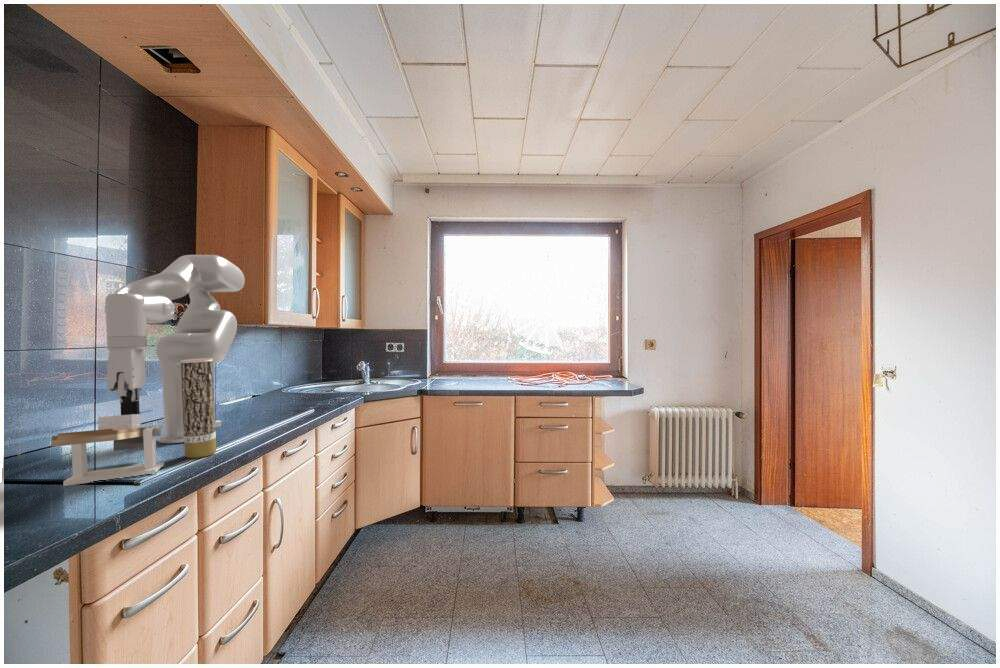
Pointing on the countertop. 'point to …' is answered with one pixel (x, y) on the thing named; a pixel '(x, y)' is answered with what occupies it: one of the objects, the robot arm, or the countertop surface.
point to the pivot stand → (86, 476)
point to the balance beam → (104, 437)
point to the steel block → (120, 422)
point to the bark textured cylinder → (198, 407)
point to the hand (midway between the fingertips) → (130, 417)
